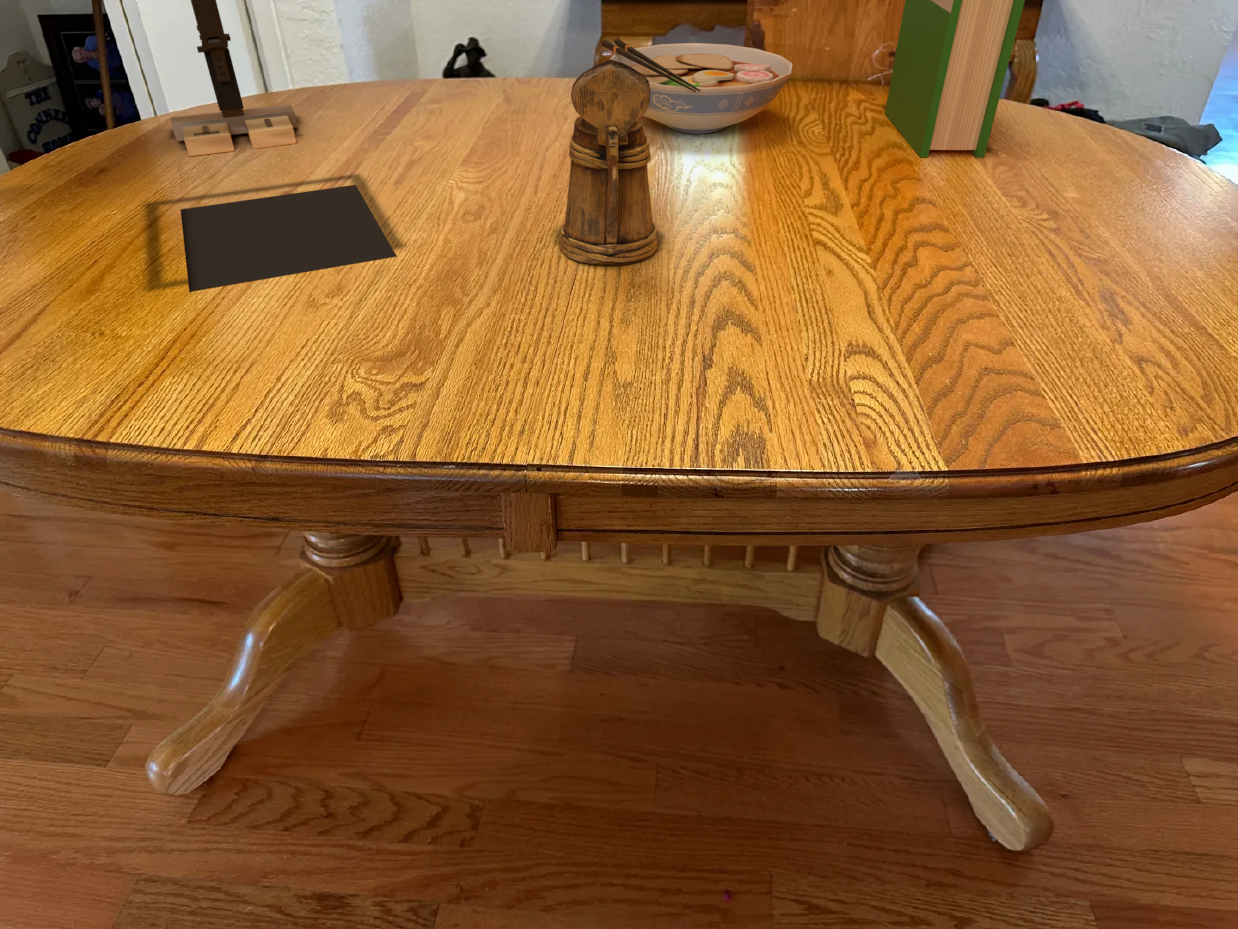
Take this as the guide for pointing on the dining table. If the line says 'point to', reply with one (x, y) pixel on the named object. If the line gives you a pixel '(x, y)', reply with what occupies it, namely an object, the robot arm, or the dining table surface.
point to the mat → (279, 236)
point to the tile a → (207, 139)
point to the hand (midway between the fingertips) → (230, 105)
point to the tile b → (270, 132)
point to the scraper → (231, 119)
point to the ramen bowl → (704, 82)
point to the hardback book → (951, 72)
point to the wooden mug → (609, 169)
